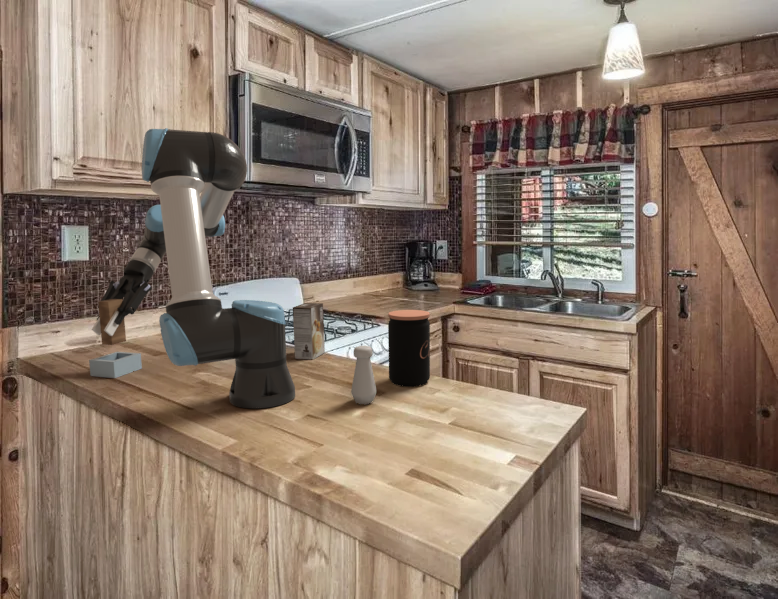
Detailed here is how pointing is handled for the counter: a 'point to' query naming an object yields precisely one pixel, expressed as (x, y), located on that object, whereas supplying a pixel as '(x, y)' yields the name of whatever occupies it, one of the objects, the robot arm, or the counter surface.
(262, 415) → the counter surface
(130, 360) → the blue-grey open box
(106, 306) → the upright wooden block
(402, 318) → the coffee jar
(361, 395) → the salt shaker
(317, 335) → the coffee box
